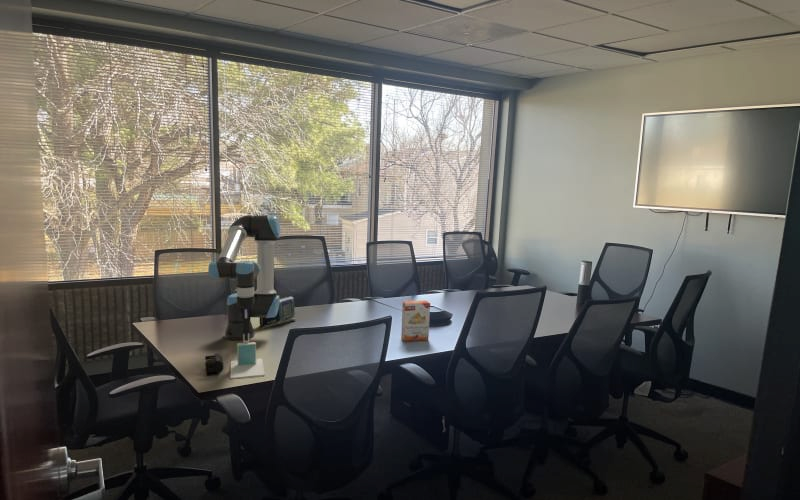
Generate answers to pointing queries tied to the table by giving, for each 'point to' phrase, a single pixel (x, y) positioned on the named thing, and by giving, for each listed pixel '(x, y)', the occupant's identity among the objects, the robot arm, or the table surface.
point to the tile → (246, 353)
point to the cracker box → (415, 320)
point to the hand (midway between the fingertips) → (246, 346)
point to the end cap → (213, 364)
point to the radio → (280, 314)
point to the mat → (247, 370)
